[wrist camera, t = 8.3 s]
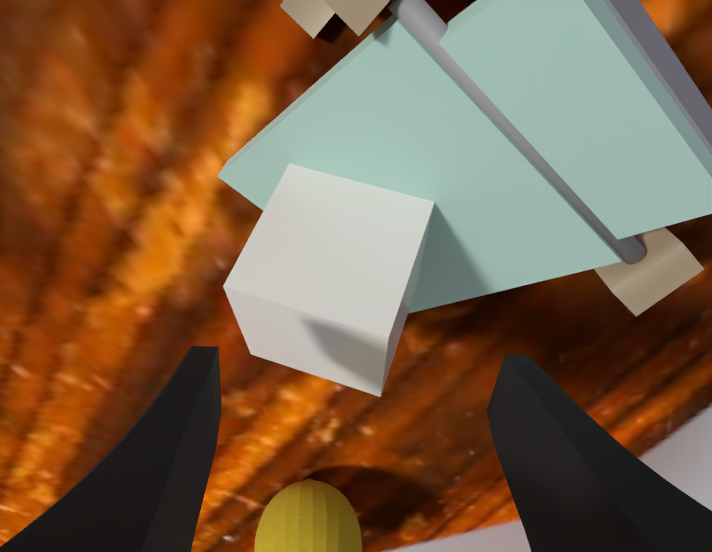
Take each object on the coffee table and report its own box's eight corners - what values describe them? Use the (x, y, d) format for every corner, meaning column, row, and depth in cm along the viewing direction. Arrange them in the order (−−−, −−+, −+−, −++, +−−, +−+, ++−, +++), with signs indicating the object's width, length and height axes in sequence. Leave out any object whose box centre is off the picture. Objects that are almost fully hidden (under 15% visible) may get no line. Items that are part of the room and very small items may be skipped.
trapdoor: (755, 175, 15) (758, 236, 14) (420, 278, 26) (407, 318, 25) (535, -156, 11) (515, -104, 10) (236, 130, 21) (210, 171, 20)
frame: (660, 137, 21) (783, 214, 16) (530, 244, 24) (596, 343, 18) (424, -180, 15) (487, -232, 10) (280, 3, 18) (268, 43, 12)
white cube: (434, 202, 17) (388, 337, 15) (418, 281, 22) (380, 396, 19) (289, 163, 18) (223, 286, 16) (301, 247, 22) (251, 354, 20)
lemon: (337, 438, 30) (345, 589, 23) (368, 495, 33) (382, 643, 26) (244, 464, 30) (225, 618, 24) (282, 517, 33) (275, 667, 27)
